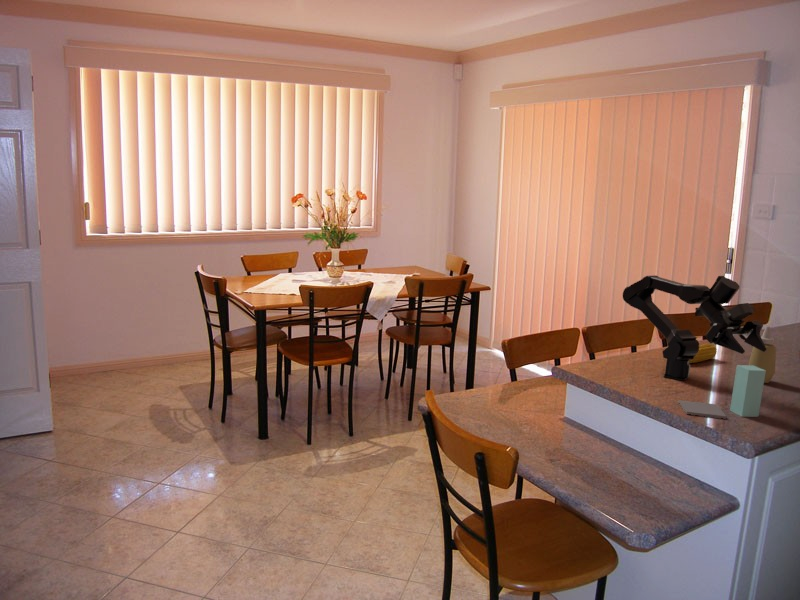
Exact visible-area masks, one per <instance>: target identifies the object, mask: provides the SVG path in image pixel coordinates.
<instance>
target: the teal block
mask: <svg viewBox="0 0 800 600" xmlns="http://www.w3.org/2000/svg"><path fill="white" fill-rule="evenodd" d="M765 373H766V370H763V369H761V368H758V367H756V366H754V365H747V364H744V365H743V364H736V368H735V373H734V374H735V375H734V380H733V381H734V382H733V388H732V395H731V401H730V408H729V411H731V412H732V413H734V414H736V415H738V416H740V417H741V418H744V417H746V418H749V417H751V418H752V417H753V418H754V417H757V418H758V417H759V416H760V410H761V409H760V408H761V404H762V396H763V390H764V385H765V383H764V379H765Z"/></svg>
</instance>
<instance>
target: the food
mask: <svg viewBox="0 0 800 600" xmlns="http://www.w3.org/2000/svg"><path fill="white" fill-rule="evenodd" d="M716 355H717V347H716V346H715V345H713V344H712V343H709V342H707V343H704V344H701V345H700V344H699V351H698V353H697V354H696V355H695V357H694V359H693V360H691V359H690V360H689V364H694V363H695V364H696V363H700V362H704V361H707V360H711V359H713V358H715V357H716Z"/></svg>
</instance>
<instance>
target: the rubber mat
mask: <svg viewBox="0 0 800 600" xmlns="http://www.w3.org/2000/svg"><path fill="white" fill-rule="evenodd" d="M678 402H679V403H680V404H679V403H678V404H679V406H680V405H681V406H682V407H681V406H680V407H681V409H682V408H683V409H682V410H683V412H684V411H685V412H686V413H685V412H684V413H685V415H686V414H691V415H690V416H695V415H699V416H698V417H704V416H705V417H706V418H712V417H714V418H713V419H721V418H723V419H722V420H727V415H726V414H725V413H724V411H723V410H722V409H721V408H720V407H719V406H718V404H715V403H708V402H698V401H690V400H681V399H679V400H678Z"/></svg>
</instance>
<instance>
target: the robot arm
mask: <svg viewBox="0 0 800 600" xmlns="http://www.w3.org/2000/svg"><path fill="white" fill-rule="evenodd" d="M740 287H741V286H740V285H739V284H738V283H737V282H736V281H734V280H732V279H730V278H727V277H726V276H724V275H718V276H717V277H716V279H715V282H714V283H713V284H712V286H711V287H709V286H707V285H704V284H703V285H701V284H684V283H681V282H677V281H675V280H670V279H668V278H663V277H660V276H658V275H655V274H654V275H646V276H644V277H642V278H641V279H640V280H638V281H636V282H633V283H632V284H630V285H628V286H626V287H625V288H624V289H623V292H622V299H623V302H625V303H626V304H628V306H630V307H632V308H634V309H637V310H639V311H640V312H641V313H642V314H643V316H645V317H646V319H648V321H649V322H651V324H652V325H653V326H654V327H655V328H656V329H657V330H658V331H659V332H660V333H661V335H663V337H664V338H665V339H666V345H667V347H666V348H665V349H664V350H662V357H663V358H664V359H666V363H665V370H664V374H663V378H666V379H667V378H668V379H673V380H678V381H686V380H687V379H688V378H689V377H690V371H691V363H689V360H690V359H691V360H693V359H694V357H695V355H696V354H697V353H698V351H699V346H700V342H699V341H698V337H697V336H696V335H694V334H693V333H692V331H691V330H689V329H679V328H678V327H677V326H676V325H675V324H674V323H673V322H672V321H671V320H670V319H669V317H668V316H667V315H666V314H665V313H664V312H663V311H662V310H661V309H660V307H658V306H657V305H656V304H655V303H654V302H653V298H652V297H653V296H652V295H653V294H654V293H655V291H656V290H657V291H660V292H664V293H667V294H670V295H673V296H676V297H678V298H679V300H681V301H683V302H684V303H686V304H688V305H698V307H695V310H694V311H695V313H694V316H695V317H705V318H706V319H707V320H708V322H710V324H709V326H710V328H709V330H708V331H707V332H706V334H705V340H707V341H708V344H714V346H715V345H717V346H720V347H723V348H726V349H729V350H730V351H734V352H736V353H738V354H743V355H744V354H745V352H746V350H745V349H744V348H743V345H741V343H739V342H738V340H737V339H736V338H735V336H739V338H740V339H741V340H743V341H744V343H746V344H747V345H749V346H751V347H752V348H753V347H755V348H757V349H759V350H761V351H763V352H765V351H766V350H767V349H766V347H765V345H764V343H763V341H762V338H761V331H762V329H763V328H764V324H763V323H762V322H760V320H751V321H749V320H748V321H746V322H745V318H747V317H748V316H751V315H753V314H754V312H755V306H753V305H752V304H751V303H748V302H746V303H745V302H744V303H737V305H735V306H733V307H732V308H731V307H730V309H727V308H725V306H724V305H725V304H729V303H730V302H731V301H732V299H733V298H734V297H735V295H736V294H737V292H738V291H739V290H740ZM744 322H745V324H744ZM743 324H744V325H743ZM742 325H743V326H742Z"/></svg>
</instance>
